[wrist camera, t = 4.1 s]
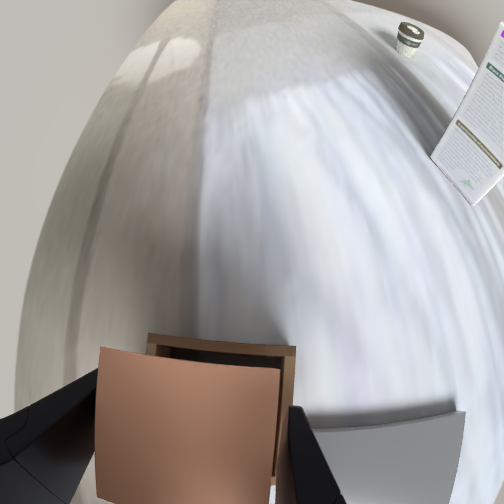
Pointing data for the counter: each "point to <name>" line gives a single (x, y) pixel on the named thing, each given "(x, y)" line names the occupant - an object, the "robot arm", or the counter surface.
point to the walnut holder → (164, 343)
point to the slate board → (396, 459)
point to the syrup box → (477, 130)
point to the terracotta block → (183, 430)
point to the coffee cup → (408, 39)
